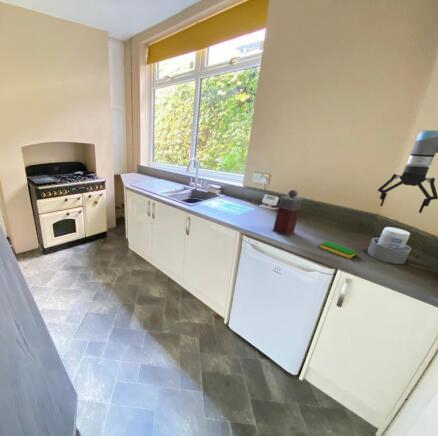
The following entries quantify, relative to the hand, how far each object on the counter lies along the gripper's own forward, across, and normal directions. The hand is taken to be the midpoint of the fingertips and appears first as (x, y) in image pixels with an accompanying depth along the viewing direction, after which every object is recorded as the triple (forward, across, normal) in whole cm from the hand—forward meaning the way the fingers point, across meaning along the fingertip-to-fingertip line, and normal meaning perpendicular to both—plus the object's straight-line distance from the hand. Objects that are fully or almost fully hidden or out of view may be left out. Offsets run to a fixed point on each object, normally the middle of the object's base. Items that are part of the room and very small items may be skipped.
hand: (399, 208), depth 117 cm
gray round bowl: (+26, +2, -1) cm, 26 cm away
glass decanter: (+26, -46, -8) cm, 53 cm away
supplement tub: (+26, +2, -1) cm, 26 cm away
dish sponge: (+26, -17, -14) cm, 34 cm away
